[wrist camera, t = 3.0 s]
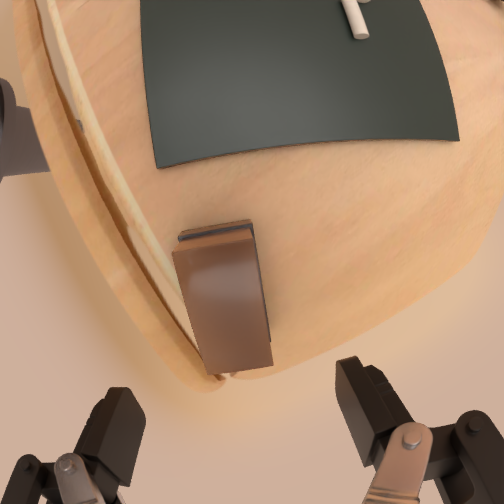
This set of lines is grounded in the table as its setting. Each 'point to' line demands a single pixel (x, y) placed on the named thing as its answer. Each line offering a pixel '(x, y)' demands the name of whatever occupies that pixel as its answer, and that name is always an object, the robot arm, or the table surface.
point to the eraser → (224, 296)
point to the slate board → (288, 76)
